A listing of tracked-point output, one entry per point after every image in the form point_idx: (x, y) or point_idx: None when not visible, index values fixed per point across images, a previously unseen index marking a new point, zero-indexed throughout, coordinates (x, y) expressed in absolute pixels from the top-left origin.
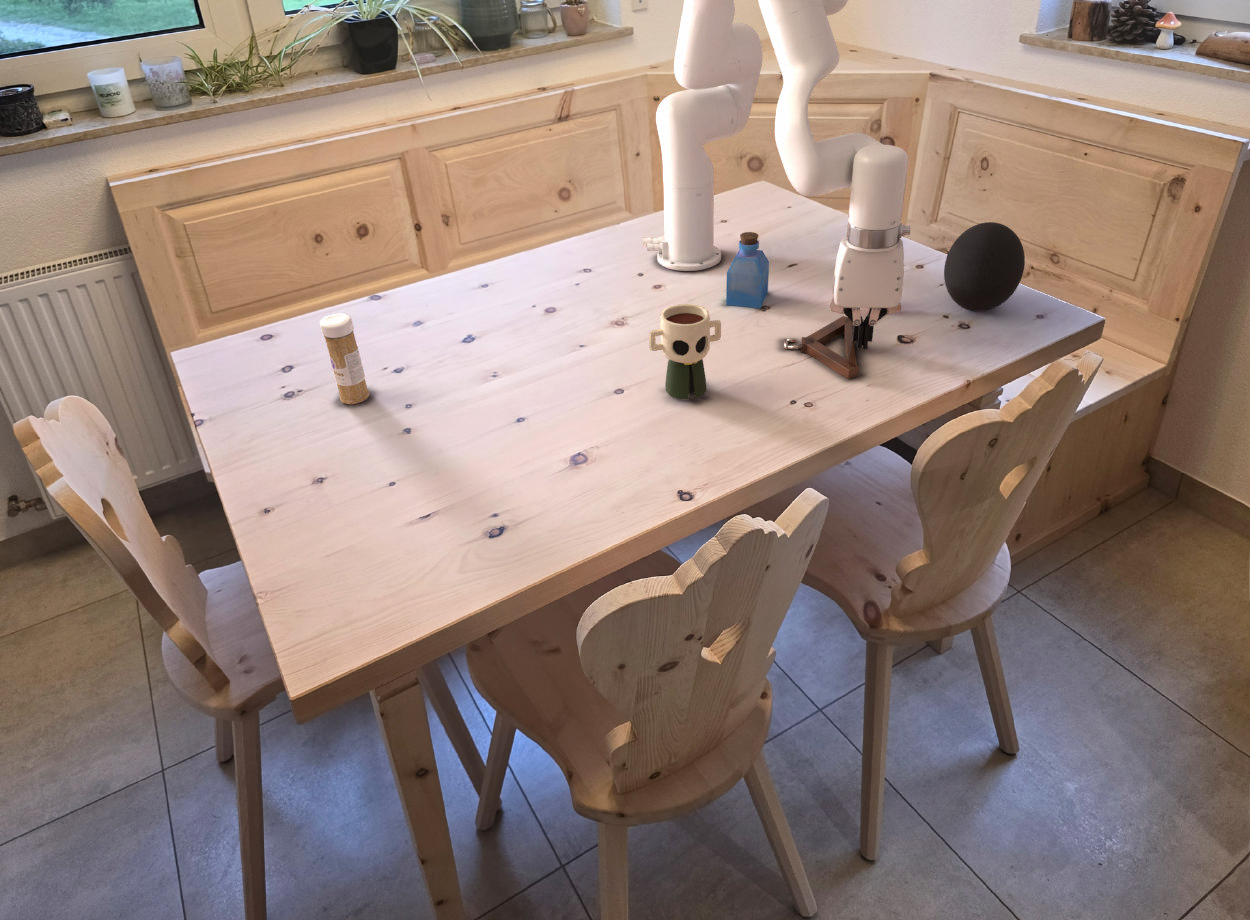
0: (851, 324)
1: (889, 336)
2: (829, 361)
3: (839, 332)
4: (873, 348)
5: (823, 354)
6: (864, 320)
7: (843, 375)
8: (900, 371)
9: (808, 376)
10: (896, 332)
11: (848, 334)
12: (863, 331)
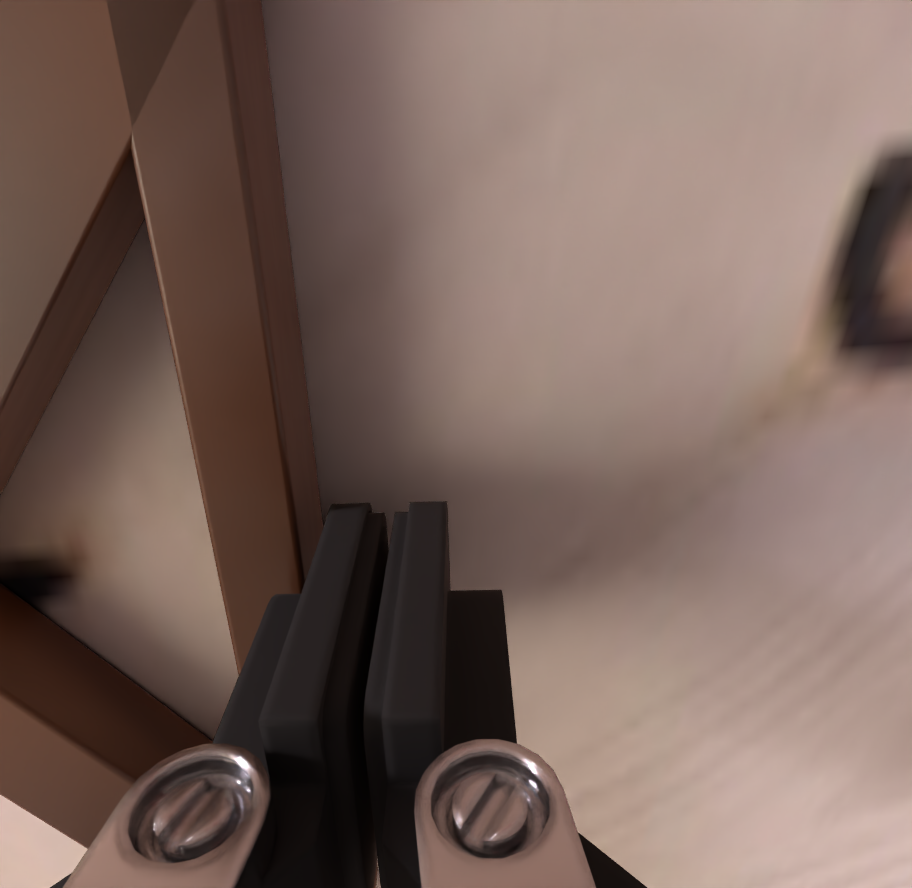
0: (237, 149)
1: (761, 194)
2: None
3: (120, 234)
4: (529, 489)
5: (51, 824)
6: (376, 766)
7: None
8: (690, 797)
9: (40, 882)
10: (888, 60)
11: (229, 462)
12: (376, 849)
